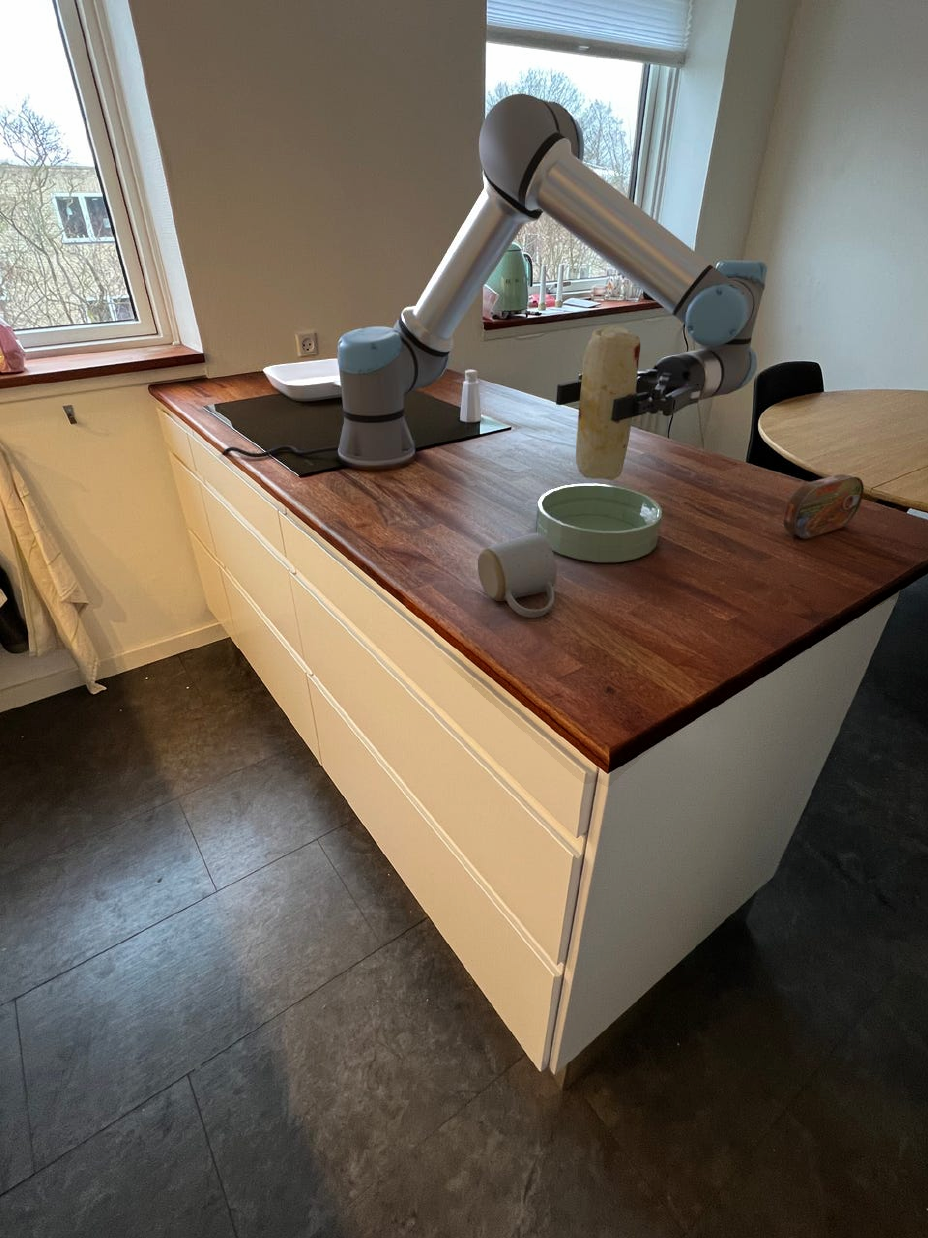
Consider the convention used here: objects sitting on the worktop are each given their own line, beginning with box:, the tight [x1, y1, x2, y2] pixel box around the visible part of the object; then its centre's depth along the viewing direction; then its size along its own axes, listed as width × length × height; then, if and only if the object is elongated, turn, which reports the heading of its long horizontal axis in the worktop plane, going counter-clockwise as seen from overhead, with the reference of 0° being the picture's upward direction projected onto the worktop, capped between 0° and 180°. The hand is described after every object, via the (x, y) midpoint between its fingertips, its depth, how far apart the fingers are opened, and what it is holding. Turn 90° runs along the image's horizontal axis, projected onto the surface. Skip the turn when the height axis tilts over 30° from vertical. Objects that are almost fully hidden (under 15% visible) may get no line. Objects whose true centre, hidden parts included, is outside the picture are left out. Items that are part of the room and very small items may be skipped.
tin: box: [783, 473, 865, 540], centre depth 97 cm, size 15×3×8 cm, turn 117°
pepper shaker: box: [459, 369, 482, 423], centre depth 147 cm, size 5×5×11 cm
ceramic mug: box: [477, 532, 558, 619], centre depth 80 cm, size 11×8×8 cm
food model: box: [575, 325, 641, 481], centre depth 89 cm, size 10×7×20 cm
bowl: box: [535, 483, 663, 563], centre depth 96 cm, size 18×18×5 cm
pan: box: [262, 358, 342, 402], centre depth 168 cm, size 27×42×5 cm, turn 32°
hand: (585, 402), depth 86 cm, fingers closed on food model, 9 cm apart
